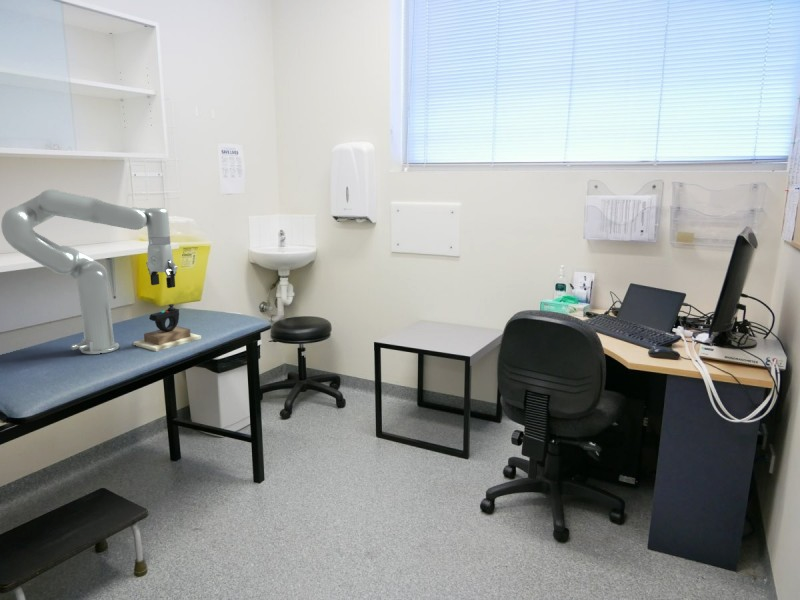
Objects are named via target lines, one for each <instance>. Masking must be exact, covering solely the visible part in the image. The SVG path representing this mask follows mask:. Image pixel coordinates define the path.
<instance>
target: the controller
mask: <svg viewBox="0 0 800 600" xmlns="http://www.w3.org/2000/svg"><path fill="white" fill-rule="evenodd" d="M167 306H168V308H167V309H165V310H162V311H158V312H155V313H151V314H150V315H149V317H148V319H149V320H150V321H153V322H154V323H155V325H156V326H155V327H156V328H157V330H161V331H171V330H173V329H174V328H175V327H176V326H178V324H179V319H180V309H179V308H176V307H174V306H175V304H174V303H172V304H171V303H170V304H168V305H167ZM167 320H169V321H168V322H169V323H168V325H167V326H166V321H167Z"/></svg>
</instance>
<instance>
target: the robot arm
mask: <svg viewBox="0 0 800 600" xmlns="http://www.w3.org/2000/svg"><path fill="white" fill-rule="evenodd" d="M168 211H169V210H168V209H167V208H164V207H150V208H145V207H144V208H143V207H142V208H141V207H136V206H135V207H127V206H123V205H117V204H113V203H110V202H106V201H103V200H101V199H98V198H95V197H91V196H85V195H80V194H75V193H71V192H65V191H60V190H58V189H51V188H50V189H46V190H44V191H42V192H40V193H39V194H38V195H37V196H35V197H33V198H31V199H29V200H27V201H26V202H23V203H21V204H19V205H17V206H13V207H11V208H9V209H7V210H6V211H5V213H3V216H2V219H1V233H2V235H3V237H4V240H5V241H6V242H7V243H8V244H9V245H10V246H11V248H13V249H14V250H16V251H17V252H19V253H20V254H22V255H24V256H26V257H28V258H29V259H31V260H33V261H34V262H36V263H38V264H40V265H42V266H43V267H44V268H47V269H49V270H51V271H52V272H53V273H55V274H58V275H61V276H62V275H64V276H65V275H67V276H69V277H71V278H73V279H74V280H76V286H77V292H78V297H79V299H78V300H79V307H80V314H81V321H82V330H83V338H82V339H81V341H80V342H79V343H74V344H71V345H70V349H71V350H72V351H75V350H79V351H80V352H81V353H82V354H85V355H100V353H102V354H106V353H111V352H115V351H116V350H118V349H119V348H120V343H118V342H115V337H114V329H113V320H112V318H113V317H112V310H111V300H110V293H109V291H110V290H109V282H108V281H109V280H108V276H109V275H108V271H107V269H106V268H105V266H104V265H103V264H102V263H100V262H99V261H97V260H96V259H93V258H92V257H90V256H88V255H86V254H84V253H83V252H82V251H79V250H77V249H76V248H74V247H71V246H69V245H59V244H57V243H55V242H53V241H51V240H50V239H48V238H47V237H46V236H43V235H41V234H39V233H38V232H36V231H35V230H34V229H33V228H34V227H37V226H38V225H40V224H42V223H44V222H46V221H48V220H50V219H52V218H54V217H55V216H57V217H61V218H68V219H72V220H73V219H74V220H77V221H83V222H90V223H93V224H101V225H107V226H110V227H111V226H113V227H117V228H123V229H128V230H133V231H134V230H137V231H139V230H141V229H143V228H145V227H147V241H148V244H147V254H146V255H147V262H146V266H147V271H148V274H149V275H150V285H151V286H156V285H159V284H160V276H159V273H165V275H166V277H165V280H166V288H167V289H171V288H175V287H176V279H175V278H176V274H177V271H178V266H177V265H176V264H175V263H174V255H173V250H172V246H171V245H172V243H171V234H170V221H169V219H170V218H169V212H168Z"/></svg>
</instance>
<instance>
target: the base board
mask: <svg viewBox="0 0 800 600" xmlns="http://www.w3.org/2000/svg"><path fill="white" fill-rule="evenodd" d="M201 339H202V335H200V334H195V333H192V332H191V329H190V328H186V327H182V326H178V325H177V326H176V327H175V328H174V329H173V330H171V331H161V330H160V329H157V330H152V331H150V332H145V333H143V339H139V340H136V341H133V343H132V344H133V346H135V345H136V346H135V347H140V348H143V349H146V350H149V351H153V352H159V351H163V350H165V349H170V348H173V347H177V346H179V345H185V344H187V343H190V342H191V343H192V342H194V341H197V340H201Z"/></svg>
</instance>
